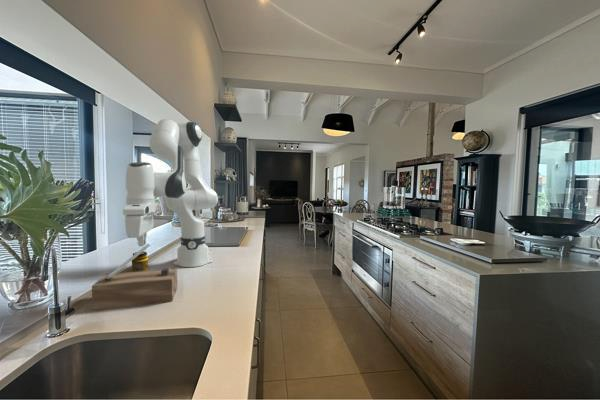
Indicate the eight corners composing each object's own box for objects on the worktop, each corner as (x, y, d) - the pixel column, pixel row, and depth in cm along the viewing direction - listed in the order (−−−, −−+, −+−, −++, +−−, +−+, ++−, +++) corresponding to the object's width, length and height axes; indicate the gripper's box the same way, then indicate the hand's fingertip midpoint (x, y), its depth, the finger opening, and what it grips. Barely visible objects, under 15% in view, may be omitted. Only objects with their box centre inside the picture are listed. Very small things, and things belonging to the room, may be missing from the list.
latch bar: (111, 276, 96) (108, 274, 96) (150, 245, 99) (147, 243, 98) (106, 281, 92) (103, 278, 91) (147, 248, 95) (144, 245, 94)
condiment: (153, 277, 118) (152, 250, 117) (140, 284, 109) (140, 256, 108) (137, 277, 118) (136, 250, 117) (123, 284, 110) (122, 255, 109)
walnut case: (107, 294, 99) (106, 268, 99) (177, 288, 106) (176, 263, 105) (92, 309, 88) (91, 280, 87) (172, 301, 95) (171, 273, 94)
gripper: (139, 205, 104) (140, 240, 105) (120, 210, 85) (122, 253, 85) (157, 205, 106) (158, 239, 107) (143, 210, 86) (144, 251, 87)
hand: (142, 245), depth 96 cm, fingers closed
